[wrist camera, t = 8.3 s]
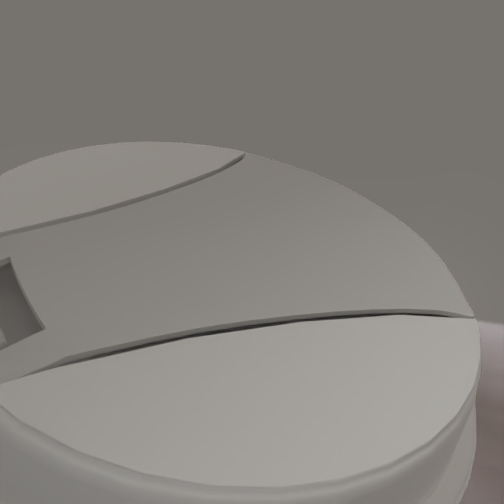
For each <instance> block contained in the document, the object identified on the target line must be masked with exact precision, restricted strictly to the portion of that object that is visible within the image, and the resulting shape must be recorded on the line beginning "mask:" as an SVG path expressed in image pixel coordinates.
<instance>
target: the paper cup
mask: <svg viewBox="0 0 504 504" xmlns="http://www.w3.org/2000/svg"><path fill="white" fill-rule="evenodd" d="M473 318H474V313H473V312H472V310H471V308H470V306H469V304H468V302H467V300H466V299H465V297H464V295H463V293H462V291H461V289H460V287H459V286H458V284H457V282H456V281H455V279H454V278H453V276H452V275H451V273H450V271H449V270H448V268H447V267H446V265H445V264H444V262H443V261H442V260H441V258H440V257H439V256H438V255H437V254H436V253H435V252H434V251H433V249H432V248H431V247H430V246H429V245H428V244H427V243H426V242H425V241H424V240H423V239H422V238H421V237H420V236H418V235H417V234H416V233H415V232H413V230H411V229H410V228H409V227H408V226H407V225H405V224H404V223H403V222H401V221H400V220H398V219H397V218H395V217H394V216H392V215H391V214H390V213H388V212H387V211H385V210H384V209H382V208H381V207H379V206H377V205H376V204H374V203H373V202H371V201H369V200H367V199H366V198H364V197H362V196H361V195H359V194H357V193H356V192H354V191H351V190H350V189H347V188H346V187H344V186H342V185H340V184H338V183H336V182H334V181H331V180H329V179H327V178H324V177H322V176H319V175H317V174H314V173H312V172H309V171H306V170H303V169H300V168H297V167H294V166H291V165H288V164H285V163H282V162H278V161H275V160H272V159H268V158H265V157H261V156H258V155H255V154H251V153H246V154H245V152H243V151H238V150H233V149H228V148H221V147H215V146H208V145H199V144H188V143H176V142H126V143H114V144H105V145H95V146H89V147H84V148H79V149H73V150H68V151H64V152H60V153H56V154H53V155H49V156H46V157H42V158H39V159H36V160H34V161H31V162H29V163H26V164H24V165H22V166H19V167H16V168H14V169H11V170H9V171H7V172H6V173H4V174H2V175H0V504H459V503H460V501H461V499H462V497H463V495H464V493H465V491H466V489H467V486H468V484H469V481H470V476H471V471H472V466H473V461H474V456H475V452H476V447H477V441H476V409H475V397H476V393H477V388H478V384H479V380H480V376H481V371H482V364H481V339H480V331H479V327H478V323H477V320H476V319H473Z"/></svg>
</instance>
